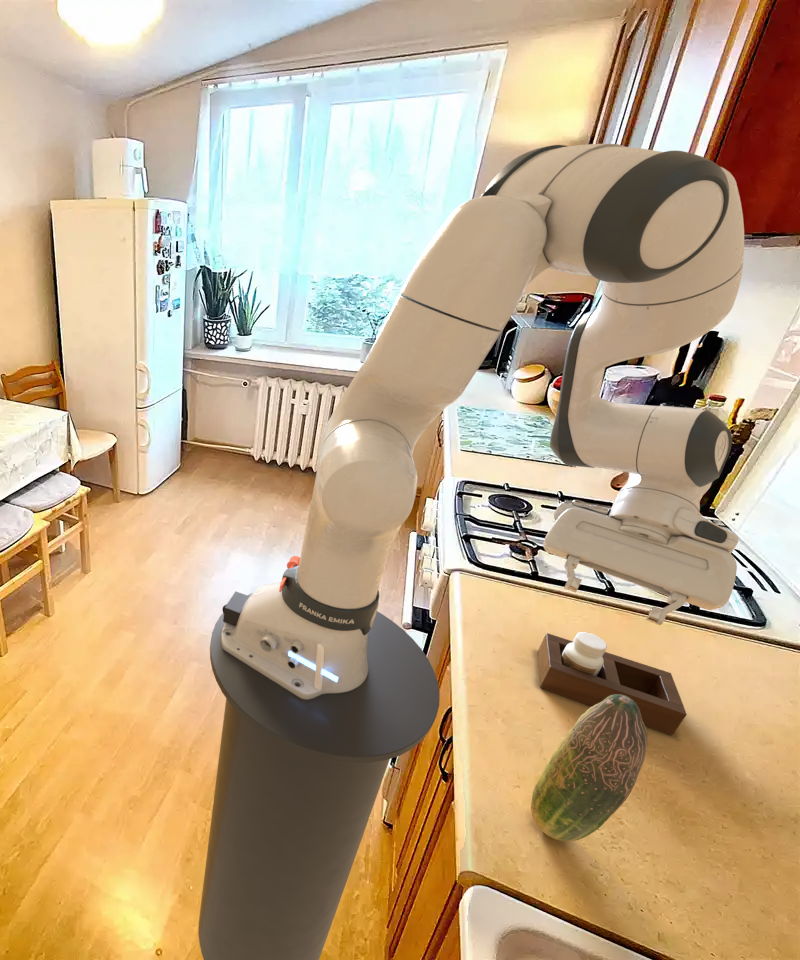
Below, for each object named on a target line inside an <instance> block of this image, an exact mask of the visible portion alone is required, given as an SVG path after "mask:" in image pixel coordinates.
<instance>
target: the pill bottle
mask: <svg viewBox="0 0 800 960" xmlns="http://www.w3.org/2000/svg"><path fill="white" fill-rule="evenodd" d="M572 641H573V642H572V643H569V644H567V645H566V647H565V649H564V651H563V653H562V655H561V661H562V665H564V666H567V667H570V668H573V669H576V670H579V671H582V672H585V673H587V674H590V675H593V676H597V674H598V673H599V671H600V669H601V667H602V665H603V663H604V660H603V657H602V656H603V654H604V653H605V652H607V648H608V645H607V643H606V641H605V640H604V639H603V638H601V637H600V636H598V635H597V634H594V633H591V632H587V631H579V632H577V633H576V635H575V636H574V637H573V640H572Z"/></svg>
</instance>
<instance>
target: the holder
mask: <svg viewBox="0 0 800 960" xmlns="http://www.w3.org/2000/svg"><path fill="white" fill-rule="evenodd" d="M573 641H574V640H570V639H567V638H564V637H561V636H557V635H554V634H551V633H549V632H546V633H545V635H544V637H543V639H542V641H541V642H540V645H539V647H538V650H537V652H536V655H537V667H538V678H539V679H538V681H539V688H540V689H543V690H545V691H548V692H551V693H553V694H556V695H559V696H562V697H565V698H567V699H571V700H573V701H576V702H578V703H581V704H584V705H587V706H590V707H592V706H594V705H596V704H598V703H600V702H601V701H603V700H604V699H605V698H607V697H608V696H610V695H614V694H621V695H624V696H627V697H629V698H630V699H632V700H633V701H634V702H635V703H636V704H637V706H638V708H639V710H640V713H641V718H642V720H643V723H644V725H645V727H646V728H650V729H653V730H656V731H659V732H661V733H663V734H665V735H669V736H673V735H674V733H675V732H676V731H677V729H678V728H679V726H680V725H681V724H682V722H683V721H684V720H685V718H686V717H687V712H686V709H685V706H684V704H683V701H682V698H681V696H680V693H679V690H678V688H677V686H676V683H675V680H674V677H673V674H672V672H669V671H666V670H663V669H660V668H657V667H653V666H650V665H648V664H644V663H642V662H638V661H635V660H632V659H630V658H629V659H628V658H626V657H622V656H620V655H616V654H613V653H610V652H607V651H605V653H604V654H603V656H602V657H603V660H604V663H603V665H602V667H601V669H600V671H599V673H598V674H597V676H593V675H590V674H587V673H585V672H582V671H579V670H576V669H573V668H570V667H567V666H564V665H562V661H561V655H562V653H563V651H564V649H565V647H566V645H567V644H569V643H572V642H573Z"/></svg>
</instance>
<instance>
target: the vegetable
mask: <svg viewBox="0 0 800 960" xmlns="http://www.w3.org/2000/svg"><path fill="white" fill-rule="evenodd" d="M648 743H649V739H648V732H647V727H646V726H645V725H644V723H643V720H642V718H641V713H640V710H639V708H638V706H637V704H636V703H635V702H634V701H633V700H632V699H630V698H629V697H627V696H624V695H621V694H614V695H610V696H608V697H607V698H605V699H604V700H603V701H601V702H600V703H598V704H596V705H594V706H590V707H589V708H588V709H587V710H585V712H584V713H583V714H581V715H580V716H579V717H578V719H577V720H576V721H575V723H574V725H573V726H572V727H571V728H570V729H569V731H567V734H565V736H564V737H563V739H562V740H561V741H560V743H559V744H558V746H557V747H556V749H555V750H554V752H553V753H552V754H551V757H550V758H549V760H548V761H547V763H546V765H545V767H544V769H542V772H541V775H540V776H539V778H538V779H537V781H536V783H535V785H534V788H533V791H532V794H531V801H530V812H531V815H532V818H533V819H534V822H535V823H536V825H537V826H538V829H540V830H541V832H542V833H544V834H545V835H546V836H547V837H549V838H551V839H554V840H556V841H560V842H576V841H579V840H582V839H584V838H586V837H589V836H590V835H592V834H593V833H595V832H596V831H597V830H599V829H600V828H601V827H602V826H603V825H604V824H605V823H606V822H607V821H608V820H609V819H610V817H611V816H613V815H614V814H615V813H616V812H617V811H618V809H619V808H620V807H622V805H624V803H625V802H626V801H627V799H628V798H629V797H630V794H631V792H632V790H633V789H634V787H635V785H636V782H637V780H638V777H639V774H640V772H641V770H642V768H643V765H644V763H645V761H646V756H647V751H648Z"/></svg>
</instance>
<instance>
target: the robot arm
mask: <svg viewBox="0 0 800 960" xmlns="http://www.w3.org/2000/svg"><path fill="white" fill-rule="evenodd" d="M737 184H738V183H737V181H736V179H735V177H734V176H733V174H732V173H731V172H730V171H729V170H727V169H726V168H724V167H723V166H719V165H718V164H717V163H715V162H714V161H713V160H710V159H708V158H706V157H704V156H701V155H698V154H695V153H691V152H688V151H683V150H668V151H667V150H666V151H660V150H653V149H647V148H640V147H632V146H625V145H622V144H619V143H589V144H578V145H569V146H568V145H565V144H553V145H552V144H551V145H547V146H541V147H539V148H535V149H532V150H529V151H527V152H524V153H522V154H521V155H518V156H516V157H515V158H514V159H512V160H511V161H510V162H508V163H507V164H506V165H504V167H502V168H501V170H500V171H498V173H496V175H495V176H494V178H492V180H491V181H490V182H489V184H488V185H487V187H486V188H485V190H484V191H483V193H482V194H480V196H477V197H474V198H472V199H469V200H466V201H464V202H463V203H461V204H460V205H459V206H457V207H456V208H455V209H454V210H453V211H452V212H451V213H450V215H449V216H448V217H447V219H446V220H445V221H444V222H443V224H442V225H441V226H440V228H439V229H438V230H437V231H436V233H435V235H434V236H433V237H432V239H431V240H430V242H429V243H428V245H427V246H426V248H425V249H424V251H423V252H422V254H421V255H420V257H419V258H418V260H417V261H416V263H415V265H414V266H413V269H412V270H411V271H410V273H409V275H408V277H407V278H406V281H405V282H404V284H403V286H402V288H401V290H400V293H398V296H397V297H396V299H395V300H394V303H393V305H392V307H391V309H390V311H389V313H388V314H387V317H386V319H385V320H384V323H383V325H382V326H381V328H380V331H379V332H378V334H377V336H376V339H375V341H374V342H373V344H372V346H371V348H370V350H369V351H368V353H367V356H366V358H365V359H364V360H363V363H362V364H361V366H360V368H359V369H358V371H357V373H355V375H354V377H353V378H352V380H351V382H350V383H349V385H348V387H347V389H346V390H345V392H344V393H343V395H342V396H341V398H340V400H339V402H338V403H337V405H336V407H335V409H334V410H333V412H332V414H331V416H330V417H329V419H328V421H327V423H326V425H325V426H324V429H323V430H322V432H321V437H320V444H319V453H318V458H317V467H316V473H315V480H314V485H313V490H312V491H313V492H312V496H311V501H310V505H309V511H308V516H307V521H306V525H305V527H304V534H303V538H302V539H303V540H302V545H301V549H300V556H298V555H293V556H291V557H290V558H289V561H288V562H287V563H286V570H284V572H283V574H282V578H281V581H277V582H273V583H272V582H271V583H267V584H263V585H261V586H259V587H258V588H257V589H256V590H254V591H253V592H251V593H252V595H251V596H248V595H249V594H245V593H241V592H239V591H234V593H233V594H232V596H231V597H230V599H229V600H228V602H227V603H226V604H224V605H223V606H222V609H221V610H222V613H224V618H223V622H225V624H224V627H223V630H222V634H221V645H222V648H223V649H224V650H225V651H226V652H228V653H230V654H231V655H233V656H234V657H236V658H238V659H239V660H241V661H242V662H244V663H245V664H247V665H249V666H250V667H252V668H253V669H255V670H257V671H258V672H260V673H261V674H263V675H265V676H266V677H268V678H269V679H271V680H272V681H274V682H276V683H277V684H279V685H280V686H282V687H284V688H285V689H287V690H288V691H290V692H292V693H293V694H295V695H296V696H298V697H300V698H302V699H306V700H308V699H312V698H315V697H317V696H319V695H321V694H328V693H343V692H348V691H351V690H353V689H355V688H357V687H359V686H360V685H361V684H362V683H363V682H364V681H365V679H366V677H367V675H368V661H367V642H368V633H369V631H370V629H371V628H372V626H373V623H374V619H375V616H376V612H377V611H378V608H379V605H380V603H379V601H380V590H379V588H380V584H381V580H382V577H383V574H384V571H385V566H386V562H387V559H388V556H389V553H390V550H391V547H392V545H393V543H394V541H395V539H396V538H397V536H398V533H399V532H400V530H401V528H402V525H403V524H404V523H405V522H406V520H407V519H408V518H409V516H410V514H411V512H412V510H413V506H414V503H415V500H416V495H417V490H418V483H419V482H418V471H417V468H416V464H415V461H414V458H413V453H414V449H415V446H416V444H417V442H418V441H419V439H420V437H421V436H422V435H423V433H424V432H425V431H426V429H427V428H428V427H429V426H430V425H431V424H432V423H433V422H434V421H435V419H436V418H438V416H440V414H441V413H442V412H443V411H444V410H445V409H447V407H449V406H450V405H452V404H454V403H455V402H456V401H458V400H459V399H460V398H461V397H462V395H463V393H464V392H465V390H466V388H467V387H468V385H469V383H470V382H471V381H472V379H473V377H474V376H475V374H476V373H477V371H478V370H479V368H480V367H481V365H482V363H484V361H485V359H486V357H487V356H488V354H489V352H490V351H491V349H492V348H493V346H494V344H495V343H496V341H497V340H498V338H499V337H500V335H501V334H502V331H503V330H504V328H505V327H506V325H507V324H508V322H509V320H510V319H511V317H512V316H513V315H514V312H515V311H516V308H517V307H518V304H519V303H520V301H521V299H522V298H523V295H524V293H525V291H526V289H527V287H528V285H529V284H530V283H532V281H534V279H536V278H537V277H538V276H539V275H540V274H542V273H543V272H545V271H546V270H547V269H551V270H554V271H558V272H562V273H567V274H572V275H578V276H586V277H593V278H595V279H597V280H599V281H601V298H600V302H599V304H598V306H597V307H596V308H595V309H592V310H590V311H588V312H586V313H584V314H583V315H582V316H581V317H580V319H579V320H578V321H577V323H576V325H575V327H574V329H573V331H572V333H571V336H570V338H569V341H568V345H567V349H566V354H565V357H564V358H565V359H564V364H563V371H562V375H561V376H562V377H561V384H560V389H559V396H558V404H557V408H556V409H557V411H556V414H555V418H554V422H553V425H552V428H551V431H550V437H549V438H550V439H549V447H550V449H551V451H552V452H553V454H555V456H556V457H557V458H558V459H559V460H560V461H561V462H562V463H563V464H564V465H566V466H568V467H581V468H592V469H595V468H596V469H597V468H598V469H603V470H609V471H616V472H622V473H623V472H624V473H628V479H627V481H626V483H625V485H624V486H622V487H621V488H620V489H619V491H618V493H617V496H616V497H615V499H614V502H613V504H612V506H611V508H608V507H604V506H600V505H595V504H590V503H588V502H585V501H582V500H579V499H573V500H565V501H562V502H560V503H559V504H558V505H557V507H556V509H555V510H554V513H553V519H554V520H555V521H554V522H553V524H552V525H551V527H550V529H549V530H548V532H547V533H546V535H545V537H544V539H543V542H542V547H543V549H544V551H545V552H546V553H547V554H550V555H553V556H556V557H559V558H561V559H565V560H566V561H565V563H564V569H565V573H566V578H567V581H566V583H565V584H564V586H563V588H564V589H565V590H567V591H570V592H573V593H575V594H576V593H577V591H578V590H579V587H580V586H581V583H582V581H583V579H581V578H579V577H576V573H575V570H576V569H577V567H578V565H580V566H584V567H586V568H589V569H592V570H595V571H598V572H601V573H604V574H607V575H609V576H612V577H615V578H618V579H620V580H623V581H625V582H628V583H631V584H633V585H637V586H639V587H642V588H645V589H648V590H651V591H654V592H657V593H659V594H662V595H665V596H667V600H666V603H667V604H669V605H666V606H664V607H663V608H660V607H657V606H653V607H652V608H650V609H649V612H648V615H647V617H646V619H645V620H646V621H648V622H650V623H654V624H655V625H658V626H661V625H663V623H664V622H665V619H666V617H667V615H669V614H670V613H672V612H674V611H675V610H678V609H679V608H681V607H682V606H684V605H685V603H687V604H690V605H692V606H695V607H699V608H700V609H704V610H706V611H714V610H717V609H720V608H722V607H724V606H725V605H727V603H728V602H729V601H730V598H731V596H732V593H733V590H734V587H735V582H736V578H737V577H736V576H737V572H738V571H737V570H738V565H737V560H736V558H735V557H734V555H733V554H732V552H733V551H734V550H735V549H736V547H737V545H738V543H739V536H737V535H736V534H735V533H734V532H731V531H730V530H728V529H726V528H724V527H722V526H721V525H718V524H716V523H715V522H712V521H711V520H709V519H707V518H706V517H704V516H702V515H700V514H699V513H700V511H701V504H700V503H701V499H702V497H703V496H704V495H705V494H706V493H707V492H708V490H709V489H710V488H711V486H712V484H713V482H714V481H715V480H717V479H719V478H720V476H721V474H722V473H723V469H724V467H725V465H726V463H727V460H728V458H729V456H730V453H731V449H732V444H733V434H732V431H731V429H729V427H728V426H727V425H726V423H724V421H723V420H722V419H721V418H720V417H719V416H717V415H716V414H714V413H713V412H712V411H710V410H707V409H706V410H705V409H700V408H693V407H682V406H681V407H680V406H670V405H669V406H667V405H649V404H638V403H637V404H636V403H623V402H614V401H609V400H606V399H604V398H603V397H600V393H601V389H602V384H603V380H604V375H605V371H606V368H607V367H610V366H612V365H615V364H618V363H622V362H625V361H628V360H629V361H630V360H633V359H638V358H643V357H648V356H654V355H659V354H663V353H666V352H670V351H673V350H676V349H678V348H680V347H681V348H682V347H684V346H686V345H688V344H690V343H692V342H694V341H696V340H698V339H699V338H701V337H703V336H704V335H706V334H708V333H709V332H710V331H712V330H713V329H715V328H716V327H717V326H718V325H719V324H720V323H722V321H723V320H724V319H725V318H726V317H727V316H728V315H729V313H730V312H731V311H732V309H733V307H734V305H735V302H736V299H737V297H738V293H739V290H740V285H741V280H742V276H743V275H742V274H743V268H744V257H745V256H744V255H745V226H744V225H745V224H744V213H743V208H742V207H743V206H742V201H741V196H740V192H739V188H738V185H737ZM297 686H299V687H297Z"/></svg>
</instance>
